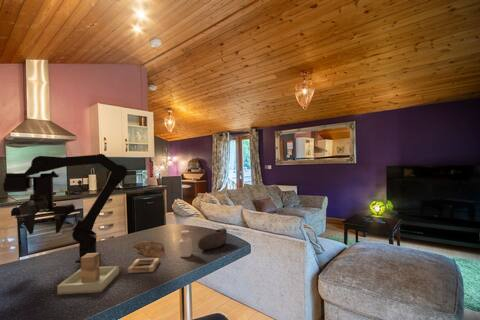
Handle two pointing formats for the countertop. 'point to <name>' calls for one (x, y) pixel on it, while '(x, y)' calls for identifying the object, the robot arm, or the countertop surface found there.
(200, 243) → the perforated stone tool
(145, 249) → the wooden fragment
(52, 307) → the countertop surface
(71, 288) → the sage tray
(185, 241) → the pepper shaker
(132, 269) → the birch stand
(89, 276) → the wooden block
